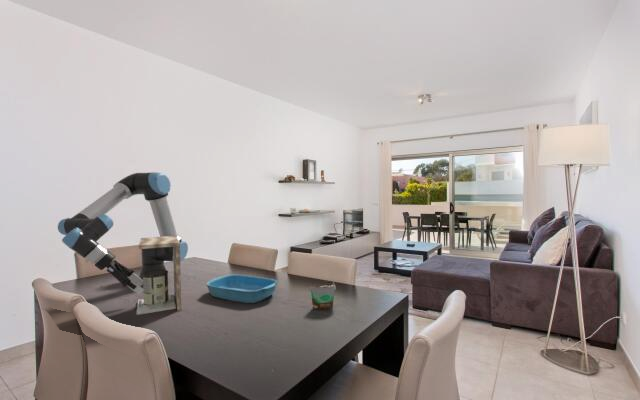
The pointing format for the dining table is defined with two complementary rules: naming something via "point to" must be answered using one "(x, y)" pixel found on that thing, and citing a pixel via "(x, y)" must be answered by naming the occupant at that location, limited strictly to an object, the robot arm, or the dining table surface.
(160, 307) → the seat plate
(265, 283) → the casserole dish
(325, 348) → the dining table surface
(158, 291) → the coffee can
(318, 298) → the food container
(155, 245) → the shelf hood
